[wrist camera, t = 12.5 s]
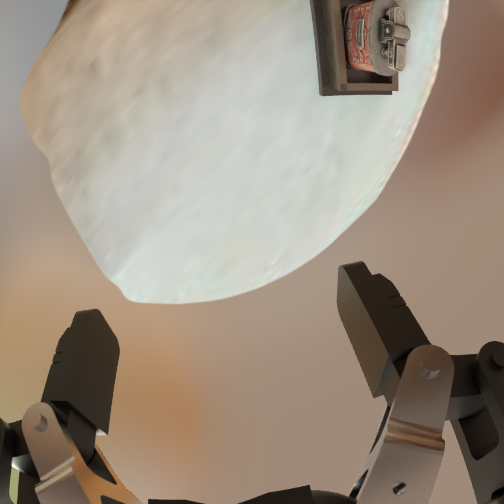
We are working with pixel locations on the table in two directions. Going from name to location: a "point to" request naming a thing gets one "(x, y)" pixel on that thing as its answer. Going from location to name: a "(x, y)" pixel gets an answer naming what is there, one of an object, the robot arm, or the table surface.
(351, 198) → the table surface
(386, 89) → the rectangular tray
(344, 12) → the lighter
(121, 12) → the table surface
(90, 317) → the robot arm
